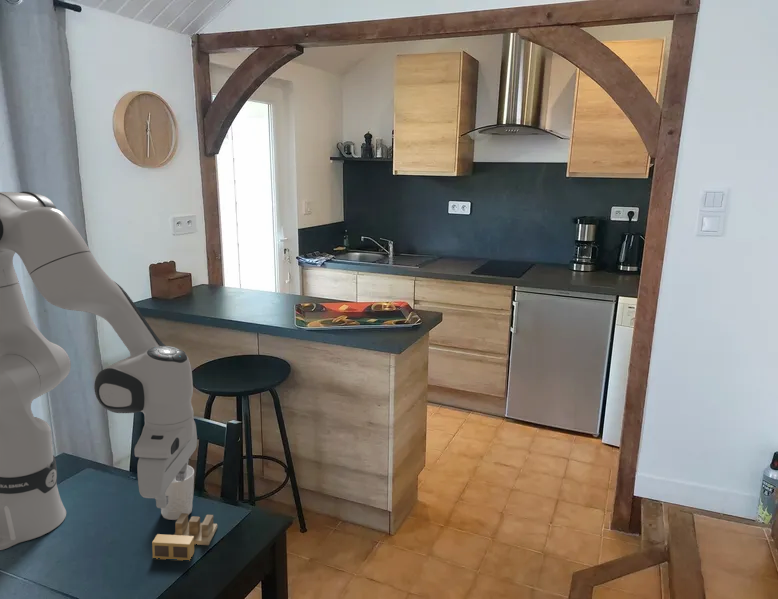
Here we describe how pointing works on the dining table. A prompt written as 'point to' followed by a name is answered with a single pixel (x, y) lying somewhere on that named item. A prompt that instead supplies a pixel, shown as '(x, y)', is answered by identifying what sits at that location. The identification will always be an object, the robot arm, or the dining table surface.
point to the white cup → (179, 496)
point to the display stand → (196, 528)
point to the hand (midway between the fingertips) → (172, 492)
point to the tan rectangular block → (173, 547)
